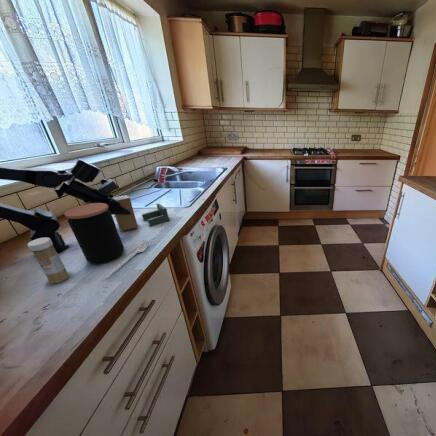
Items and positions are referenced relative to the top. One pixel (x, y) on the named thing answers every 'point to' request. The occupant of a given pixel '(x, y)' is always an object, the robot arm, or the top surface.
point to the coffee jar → (95, 232)
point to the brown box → (125, 220)
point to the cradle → (156, 215)
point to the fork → (139, 249)
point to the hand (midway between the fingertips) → (128, 211)
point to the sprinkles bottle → (48, 259)
